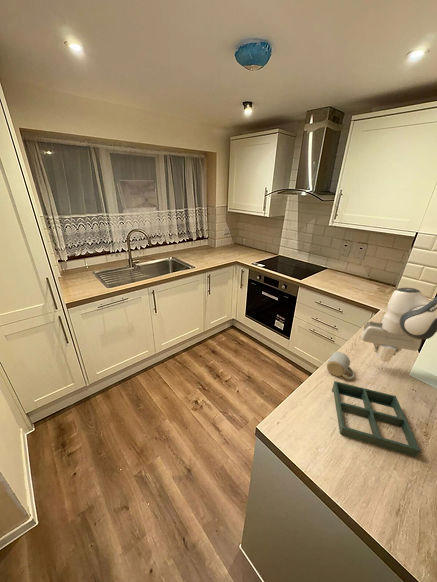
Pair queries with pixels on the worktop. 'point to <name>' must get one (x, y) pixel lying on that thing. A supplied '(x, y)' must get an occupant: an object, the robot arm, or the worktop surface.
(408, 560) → the worktop surface
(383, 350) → the shot glass
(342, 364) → the ceramic mug
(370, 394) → the rack
